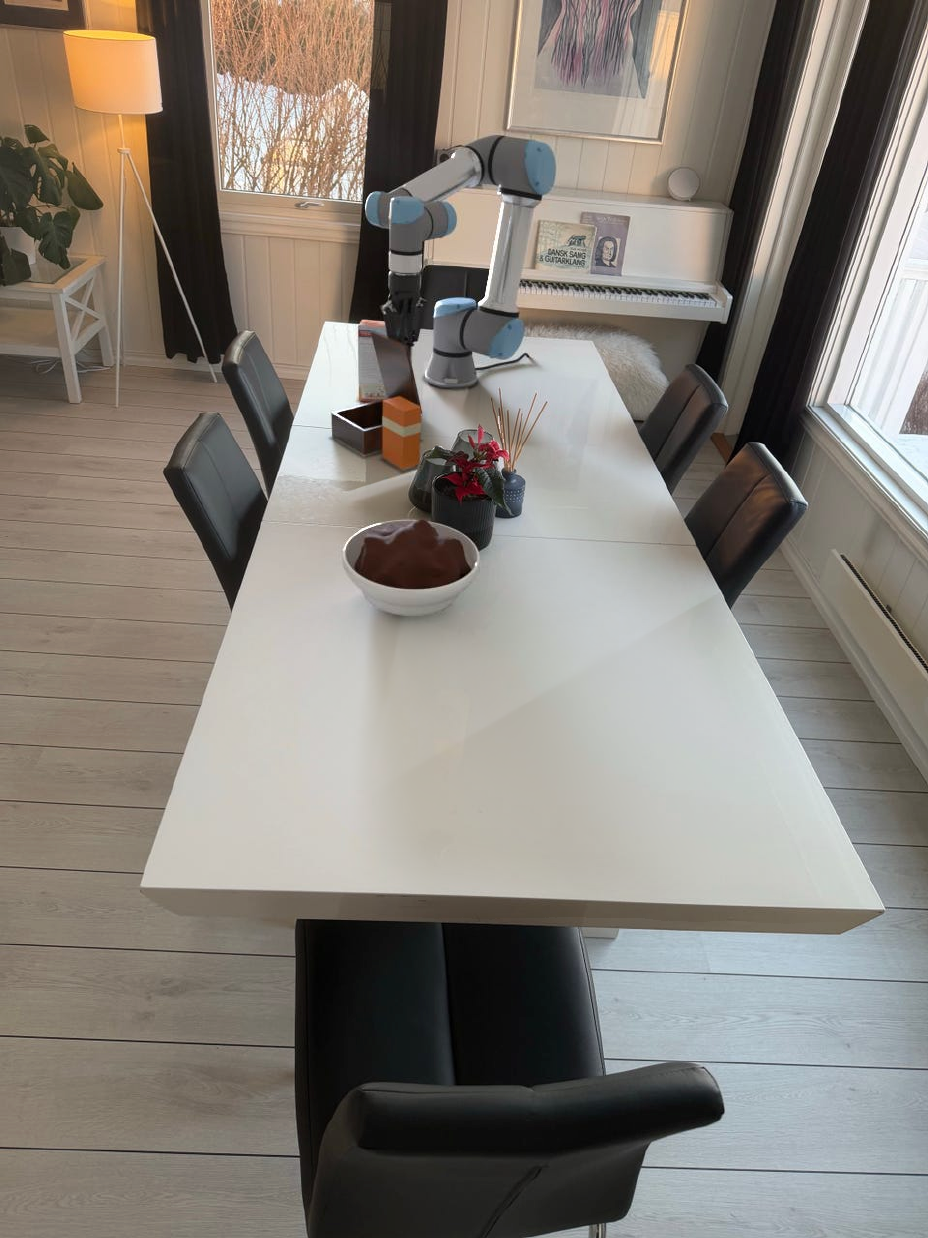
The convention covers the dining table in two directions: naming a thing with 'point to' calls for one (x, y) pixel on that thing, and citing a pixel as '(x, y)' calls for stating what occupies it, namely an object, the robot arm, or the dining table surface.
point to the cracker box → (370, 362)
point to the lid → (395, 368)
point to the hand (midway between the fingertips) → (402, 371)
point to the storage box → (360, 427)
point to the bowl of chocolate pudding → (410, 565)
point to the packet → (401, 432)
